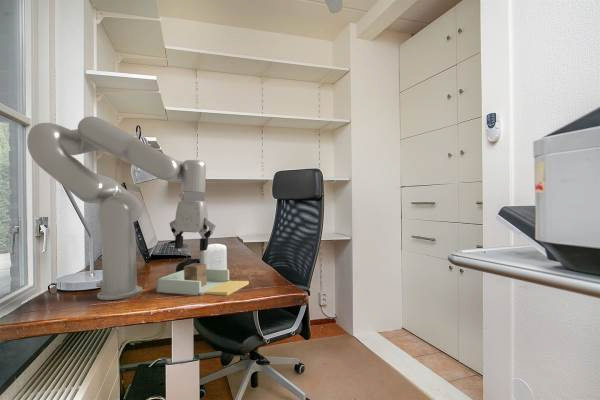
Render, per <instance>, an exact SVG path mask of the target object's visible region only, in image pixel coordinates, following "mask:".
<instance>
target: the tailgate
mask: <svg viewBox="0 0 600 400" xmlns="http://www.w3.org/2000/svg"><path fill="white" fill-rule="evenodd" d="M249 284H250V281H249V280H231V281H227V282H225V283H222V284H220V285H218V286H216V287H214V288H212V289H210V290H207V291H205V292H204V294H203V295H211V296H213V295H214V296H215V295H216V296H225V297H226V296H227V297H228V296H229V295H231V294H233V293H235V292H237V291H239V290H240V289H243V288H244V287H246V286H247V285H249Z"/></svg>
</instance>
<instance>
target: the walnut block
mask: <svg viewBox="0 0 600 400" xmlns="http://www.w3.org/2000/svg"><path fill="white" fill-rule="evenodd" d="M184 280H193V281H201V287H203V286H205V285H207V280H206V264H201V263H196V264H195V263H193V264H190V265H187V266H184Z"/></svg>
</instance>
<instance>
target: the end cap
mask: <svg viewBox="0 0 600 400" xmlns="http://www.w3.org/2000/svg"><path fill="white" fill-rule="evenodd" d="M193 263H195V264H201V258H191V257H187V258H184V259H183V260H182V261H180V262H179V263H178V264H177V265H176V267H175V273H176V272H179V271H182V270H184V266H187V265H190V264H193Z"/></svg>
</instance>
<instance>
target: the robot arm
mask: <svg viewBox="0 0 600 400" xmlns="http://www.w3.org/2000/svg"><path fill="white" fill-rule="evenodd" d="M26 144H27V149H28V152H29V155H30V157H31V158H32V160H33V161H34V162H35V163H36V165H37V166H39V168H41V169H42V170H43V171H44V172H45V173H47V174H48V175H49V176H51V177H52V178H53V179H55V181H57V182H58V183H59V184H60V185H62V186H63V187H64V188H65V189H66V190H68V191H69V192H70V193H72V194H73V195H74V197H76V198H78V199H79V200H80V201H82V202H83V203H87V204H98V205H99V207H98V209H97V210H98V211H97V217H98V222H99V226H100V227H99V228H100V229H99V230H100V236H101V237H100V241H101V264H102V265H101V267H102V272H101V273H102V279H101V280H100V281H99V282H97V283H96V284H95V286H96V288H100V291H99V292H98V293H97V294H96V296H97V297H96V298H97V299H98V300H101V301H102V300H103V301H112V300H116V301H117V300H121V299H127V298H132V297H134V296H136V295H139V294H141V293H142V292H143V287H142V286H139V285H138V278H137V273H138V272H137V271H138V270H137V240H136V229H135V224H134V223H135V222H137V221H138V220H140V219H141V218H142V216H143V212H144V207H143V204H142V202H141V201H140V200H139V199H138V198H137V196H135V195H134V194H133V193H131V192H130V191H129V190H127V189H126V188H125V187H124V186H122V185H121V184H120V183H119V182H117V181H116V180H115V179H113V178H111V177H110V176H106V175H103V174H99V173H96V172H94V171H92V170H90V169H89V168H88V167H86V166H85V165H84V164H83V163H82V162H80V161H79V160H78V159H77V158H75V157H74V156H78V155H82V154H86V153H87V154H88V153H92V152H96V151H104V152H106V153H108V154H111V155H112V156H114V157H116V158H118V159H120V160H122V161H123V162H125V163H127V164H131V165H132V166H134V167H136V168H138V169H139V170H142V171H143V172H145V173H146V174H147V173H148V174H150V175H151V176H154V177H155V178H157V179H159V180H161V181H166V182H169V183H170V182H171V183H175V182H176V183H179V182H181V189H180V190H181V193H179V194H178V197H179V198H180V201H178V203H177V207H176V211H175V216H174V217H175V218H174V219H173V220H171V221H170V222H169V227H170V230H171V232H172V233H173V237H174V249H182V248H183V246H184V236H183V234H184V233H195V234H196V233H198V234H199V236H200V237H201V238H200V239H199V251H200V252H201V251H205V250H207V247H208V245H209V238H210V237H211V236H212V235H213V233H214V231H215V228H216V225H215V224H214V223H213V222H211V221H209V220H208V219H209V216H208V206H207V205H208V204H207V202H206V180H207V179H206V178H207V177H206V175H207V165H206V162H205V161H202V160H197V159H187V160H184V161H181V160H177V159H175V158H173V157H171V156H169V155H168V154H166V153H163V152H162V151H160V150H158V149H156V148H155V147H152V146H150V145H148V144H146V143H145V142H143V141H142V140H141V139H139V137H136V136H135V135H133V134H131V133H128V131H125V130H124V129H121V128H120V127H117V126H116V125H113V123H110V122H108V121H107V120H104V119H103V118H100V117H97V116H91V115H90V116H85V117H84V118H82V119H81V120H80V121H79V122H78V124H77V128H76V129H69V128H66V127H65V126H62V125H60V124H57V123H53V122H39V123H36V124H34V126H32V127H31V128H30V130H29V131H28V134H27V140H26Z"/></svg>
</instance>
